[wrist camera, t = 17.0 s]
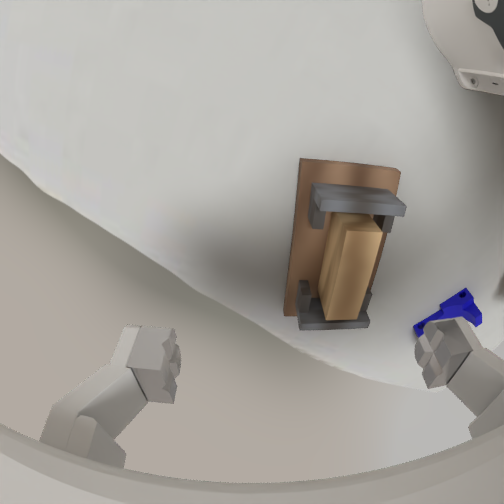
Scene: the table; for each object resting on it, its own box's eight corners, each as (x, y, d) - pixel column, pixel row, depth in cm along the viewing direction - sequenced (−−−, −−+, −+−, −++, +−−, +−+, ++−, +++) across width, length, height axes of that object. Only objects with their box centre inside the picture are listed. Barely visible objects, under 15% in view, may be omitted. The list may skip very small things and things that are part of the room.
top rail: (363, 208, 33) (382, 232, 28) (345, 289, 40) (356, 319, 35) (332, 206, 33) (346, 230, 28) (317, 289, 40) (325, 320, 34)
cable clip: (465, 286, 43) (481, 308, 37) (467, 301, 45) (482, 322, 39) (411, 320, 46) (423, 345, 41) (415, 333, 48) (427, 357, 43)
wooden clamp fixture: (395, 168, 32) (421, 187, 27) (359, 308, 44) (371, 338, 38) (299, 158, 32) (310, 175, 26) (283, 309, 43) (287, 342, 38)
